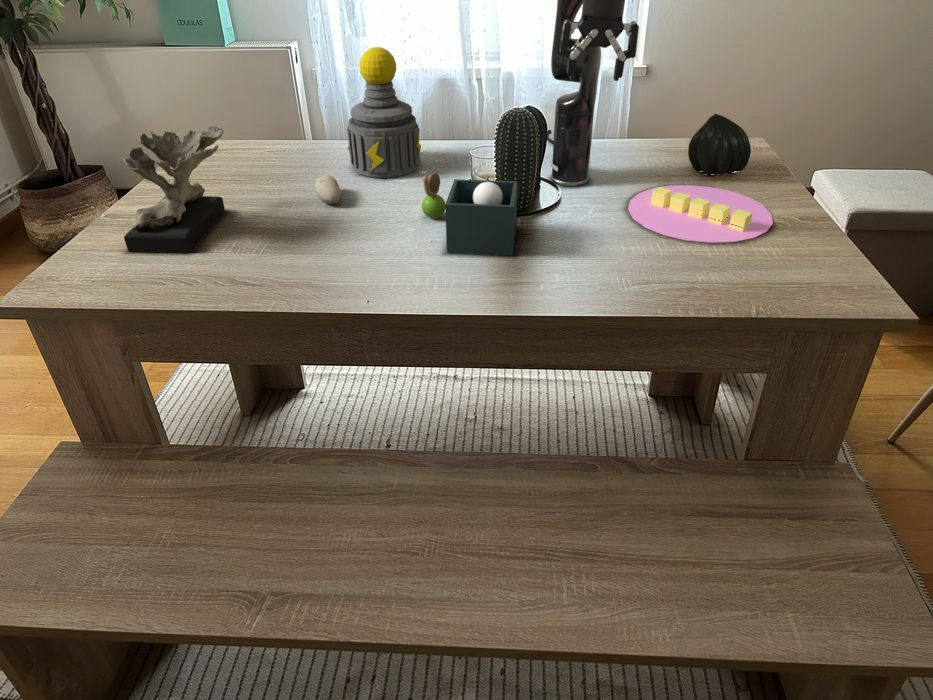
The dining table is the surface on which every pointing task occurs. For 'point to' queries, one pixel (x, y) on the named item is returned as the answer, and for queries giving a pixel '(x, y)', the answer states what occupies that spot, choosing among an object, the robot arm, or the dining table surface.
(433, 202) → the green ball figurine
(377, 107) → the decorative lamp
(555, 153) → the robot arm
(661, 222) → the platter
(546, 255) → the dining table surface
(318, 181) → the stone
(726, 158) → the squash
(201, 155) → the coral
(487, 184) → the lightbulb
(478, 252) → the trash bin
